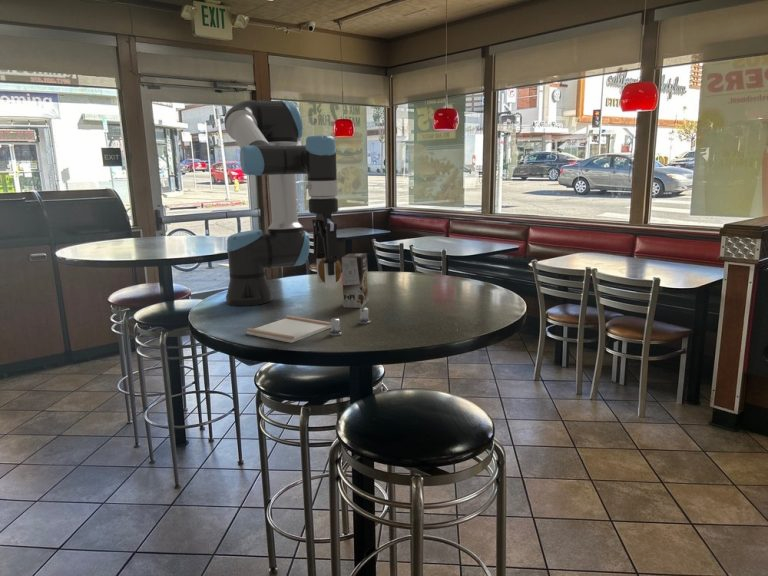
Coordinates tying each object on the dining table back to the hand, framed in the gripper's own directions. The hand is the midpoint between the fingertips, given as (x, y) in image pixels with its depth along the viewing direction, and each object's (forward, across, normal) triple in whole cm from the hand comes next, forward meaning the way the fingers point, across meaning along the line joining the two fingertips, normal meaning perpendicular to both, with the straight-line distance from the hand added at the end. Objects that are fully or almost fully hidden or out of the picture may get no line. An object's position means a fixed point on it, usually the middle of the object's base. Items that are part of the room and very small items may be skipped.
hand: (326, 284), depth 148 cm
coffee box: (+13, -22, +17) cm, 31 cm away
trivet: (+12, -3, -10) cm, 16 cm away
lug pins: (+12, +3, +5) cm, 14 cm away
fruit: (0, 0, +1) cm, 1 cm away
